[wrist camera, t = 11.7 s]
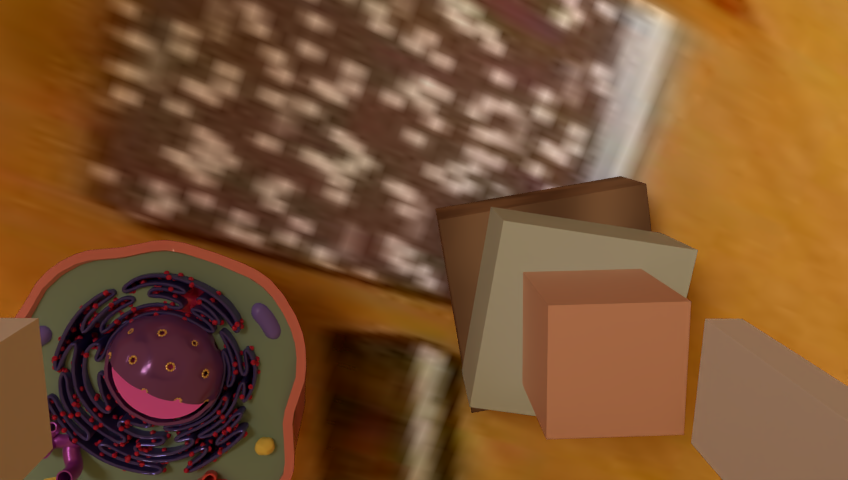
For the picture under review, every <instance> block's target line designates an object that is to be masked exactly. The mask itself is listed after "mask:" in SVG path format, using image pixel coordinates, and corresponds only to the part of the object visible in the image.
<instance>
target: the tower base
mask: <svg viewBox="0 0 848 480" xmlns="http://www.w3.org/2000/svg"><path fill="white" fill-rule="evenodd" d="M491 207H496V208H502V209H509V210H515V211H522V212H528V213H535V214H541V215H548V216H554V217H561V218H567V219H574V220H580V221H587V222H593V223H600V224H606V225H613V226H619V227H625V228H632V229H638V230H645V231H651V224H650V215H649V206H648V197H647V188H646V184H645V183H642V182H638V181H635V180H632V179H628V178H625V177H621V176H619V177H614V178H608V179H602V180H597V181H591V182H585V183H579V184H574V185H568V186H562V187H557V188H551V189H545V190H540V191H534V192H528V193H522V194H517V195H511V196H505V197H500V198H494V199H488V200H482V201H477V202H471V203H465V204H460V205H454V206H448V207H443V208H437V209H436V215H437V221H438V227H439V233H440V238H441V244H442V250H443V256H444V262H445V268H446V273H447V279H448V285H449V291H450V297H451V303H452V308H453V314H454V320H455V326H456V332H457V338H458V343H459V349H460V355H461V361H462V367H463V361H464V356H465V350H466V344H467V339H468V333H469V328H470V322H471V316H472V311H473V305H474V299H475V294H476V288H477V282H478V277H479V271H480V266H481V260H482V254H483V249H484V243H485V237H486V232H487V226H488V220H489V215H490V209H491ZM485 410H488V409H480V408H473V407H471V412H472V413H473V412H479V411H485Z"/></svg>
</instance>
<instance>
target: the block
mask: <svg viewBox="0 0 848 480" xmlns="http://www.w3.org/2000/svg"><path fill="white" fill-rule="evenodd" d="M690 313H691V301H690V300H688V299H687V298H685V297H684V296H682V295H681V294H679V293H677V292H676V291H674V290H673V289H671V288H670V287H668V286H667V285H665V284H664V283H662V282H661V281H659V280H658V279H656V278H654V277H653V276H651V275H650V274H648V273H647V272H645V271H644V270H642V269H615V270H579V271H542V272H523V365H522V384H523V387H524V389H525V391H526V394H527V396H528V398H529V401H530V403H531V405H532V407H533V410H534V412H535V414H536V417H537V419H538V421H539V424H540V426H541V428H542V430H543V433H544V435H545V437H546V439H571V438H601V437H631V436H662V435H684V422H685V404H686V386H687V368H688V349H689V331H690Z"/></svg>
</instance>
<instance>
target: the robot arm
mask: <svg viewBox="0 0 848 480" xmlns="http://www.w3.org/2000/svg"><path fill="white" fill-rule="evenodd" d="M691 444H692V445H693V446H694V447H695V448H696V449H697V451H698V452H699V453H700V454H701V455H702V456H703V458H704V459H705V460H706V461H707V462H708V463H709V465H710V466H711V467H712V468H713V469H714V470H715V472H716V473H717V474H718V475H719V476H720V477H721V479H722V480H848V386H846V385H845V384H843V383H842V382H840V381H838V380H837V379H835V378H834V377H832V376H831V375H829V374H827V373H826V372H824V371H823V370H821V369H820V368H818V367H817V366H815V365H813V364H812V363H810V362H809V361H807V360H806V359H804V358H802V357H801V356H799V355H798V354H796V353H795V352H793V351H792V350H790V349H788V348H787V347H785V346H784V345H782V344H781V343H779V342H777V341H776V340H774V339H773V338H771V337H770V336H768V335H767V334H765V333H763V332H762V331H760V330H759V329H757V328H756V327H754V326H752V325H751V324H749V323H748V322H746V321H745V320H743V319H705V325H704V334H703V343H702V352H701V361H700V370H699V379H698V387H697V396H696V405H695V414H694V423H693V432H692V441H691ZM52 449H53V444H52V436H51V427H50V418H49V409H48V400H47V391H46V382H45V373H44V364H43V355H42V346H41V337H40V328H39V319H38V318H0V480H23V479H24V478H25V477H26V476H27V475H28V474H29V473H30V472H31V471H32V470H33V469H34V468H35V467H36V465H37V464H38V463H39V462H40V461H41V460H42V459H43V458H44V457H45V456H46V455H47V454H48V453H49V452H50V451H51V450H52Z"/></svg>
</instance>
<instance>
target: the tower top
mask: <svg viewBox="0 0 848 480" xmlns="http://www.w3.org/2000/svg"><path fill="white" fill-rule="evenodd" d="M697 252H698V250H696V249H694V248H692V247H690V246H688V245H686V244H683V243H681V242H679V241H677V240H675V239H673V238H671V237H668V236H666V235H664V234H662V233H658V232H652V231H645V230H638V229H632V228H625V227H619V226H613V225H606V224H600V223H593V222H587V221H580V220H574V219H567V218H561V217H554V216H548V215H541V214H535V213H528V212H522V211H515V210H509V209H502V208H496V207H491V209H490V215H489V220H488V226H487V232H486V237H485V243H484V249H483V254H482V260H481V266H480V271H479V277H478V282H477V288H476V294H475V299H474V305H473V311H472V316H471V322H470V328H469V333H468V339H467V344H466V350H465V356H464V361H463V367H462V374H463V378H464V383H465V388H466V392H467V397H468V401H469V406H470V407H473V408H480V409H488V410H495V411H502V412H510V413H517V414H524V415H532V416H536V414H535V412H534V410H533V407H532V405H531V403H530V401H529V398H528V396H527V394H526V391H525V389H524V387H523V384H522V365H523V272H542V271H579V270H615V269H642V270H644V271H645V272H647V273H648V274H650V275H651V276H653V277H654V278H656V279H658V280H659V281H661V282H662V283H664V284H665V285H667V286H668V287H670V288H671V289H673V290H674V291H676V292H677V293H679V294H681V295H682V296H684V297H685V298H687V294H688V290H689V285H690V281H691V277H692V273H693V268H694V264H695V260H696V256H697Z"/></svg>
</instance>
